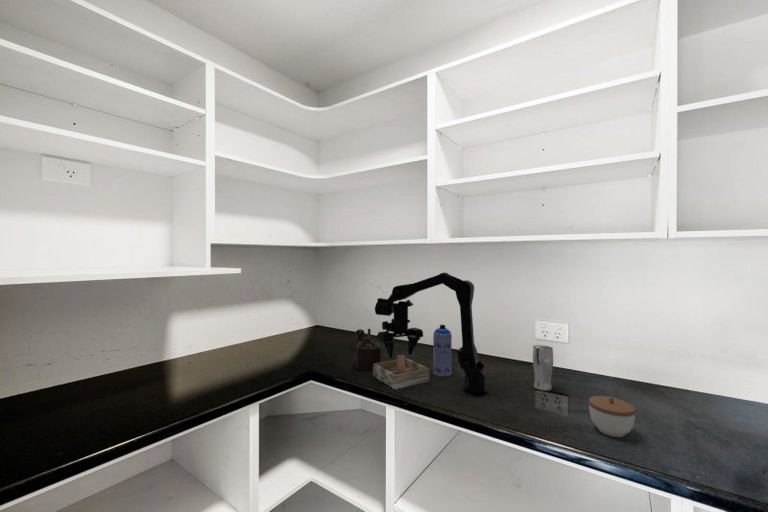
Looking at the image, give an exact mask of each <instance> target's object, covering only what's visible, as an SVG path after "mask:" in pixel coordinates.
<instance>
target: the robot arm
mask: <svg viewBox="0 0 768 512" xmlns="http://www.w3.org/2000/svg"><path fill="white" fill-rule="evenodd" d="M442 284H443V285H444V286H445V287H448V288H449V289H450V290H452V291H454V292H455V296H456V299H457V302H458V305H459V313H460V324H461V325H460V326H461V340H462V341H461V342H462V344H461V345H462V347H459V349H458V350H456V351H457V357H458V360H457V363H459V366H460V369H462V370H463V371H464V374H465V376H464V388H461V389H462V391H463V392H466V393H468V394H470V395H472V396H474V397H477V396H481V395H485V394H487V393H488V390H486V388H485V387H486V385H485V383H486V382H485V381H486V379H485V377H486V376H485V375H484V374H483V373H484V371H485V368H486V366H485V365H484V364H483V362H482V361H480V358H479V353H478V350H477V347H476V345H475V337H474V324H473V322H474V321H473V308H472V307H473V300H474V295H475V293H474V292H475V285H474V283H473V282H471V281H470V280H462V279H461V278H459V277H456V276H453V275H451V274H449V273H448V272H441V273H439V274H437V275H434V276H431V277H428V278H426V279H423V280H419V281H417V282H413V283H407V284H400V285H396V286H394V287H393V288H392V291H391V294H390V295H389V297H388V298H382V297H379V298H377V302H376V303H375V307H374V312H375V315H378V316H388V317H390V316H392V314H393V318H391V320H390V322H388V321H387V320H386V321H382V322H381V328H382V330H383V331H379V332H378V333H377V334H376V339H377V340H378V341H380V342H382V343H383V344H384V346H385V348H386V351H387V354H388V357H389V358H390V359H392V358H393V355H394V354H393V352H394V344H395V343H394V342H395V341H393V340H394V338H402V337H406V338H407V340H408V344H407V345H408V347H407V349H408V355H409V356H411V355H412V353H413V352H414V349H415V347H416V346H417V344H418V342H419V340H421V338H423V337H424V331H423V330H422V328H421V329H420V328H417V327H411V328H409V324H410V323H411V320H410V319H409V307H412V306H414V303H413V302H411V300H410V299H408V298H410V297H412V296H414V295H415V294H416V293H418V292H422V291H424V290H427V289H430V288H433V287H436V286H440V285H442ZM404 300H406V301H404ZM384 330H385V331H384Z"/></svg>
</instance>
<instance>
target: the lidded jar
mask: <svg viewBox="0 0 768 512" xmlns="http://www.w3.org/2000/svg"><path fill="white" fill-rule="evenodd" d="M588 406H589V407H588V409H589V415H590V419H591V421H592V422H593V424H594V425H595V426H596V428H597V429H598V431H599V432H601V434H604V435H606V436H609V437H614V438H623V437H625V435H627V434H629V433H630V432H631V431H632V429H633V428H634V425H635V421H636V420H635V418H636V407H635V406H634V405H633V404H631V403H630V402H628V401H625V400H624V399H623V400H622V399H619V398H617V397H613V396H605V395H594V396H591V397H589V398H588Z"/></svg>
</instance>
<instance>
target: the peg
mask: <svg viewBox="0 0 768 512" xmlns="http://www.w3.org/2000/svg"><path fill="white" fill-rule="evenodd" d="M405 358H406V356H405V355H403V354H398V355H396V360H397V374H402V373H405Z"/></svg>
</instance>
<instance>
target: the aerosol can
mask: <svg viewBox="0 0 768 512" xmlns="http://www.w3.org/2000/svg"><path fill="white" fill-rule="evenodd" d="M432 337H433V338H432V339H433V340H432V341H433V344H432V345H433V348H432V349H433V350H432V352H433V354H432V358H433V359H432V361H433V363H432V365H433V366H432V374H434V375H435V376H439V377H449V375H450V376H452V374H453V373H452V349H453V348H452V340H453V339H452V338H453V337H452V332H451V331H450V330H449V329H448V328H447V327H446V325H445V324H439V327H438V328H436V329H434V332H433V336H432Z"/></svg>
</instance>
